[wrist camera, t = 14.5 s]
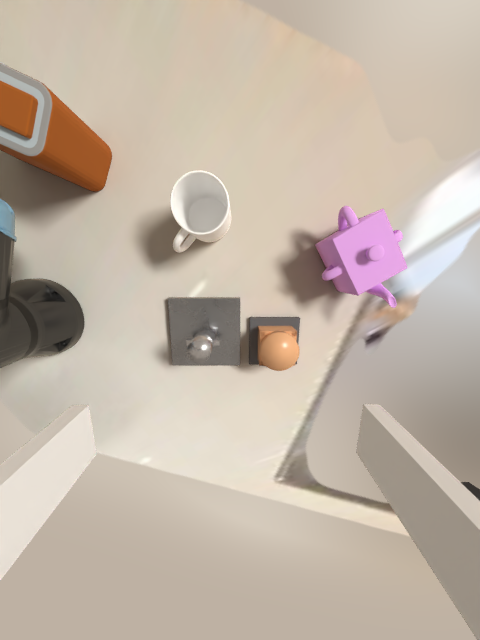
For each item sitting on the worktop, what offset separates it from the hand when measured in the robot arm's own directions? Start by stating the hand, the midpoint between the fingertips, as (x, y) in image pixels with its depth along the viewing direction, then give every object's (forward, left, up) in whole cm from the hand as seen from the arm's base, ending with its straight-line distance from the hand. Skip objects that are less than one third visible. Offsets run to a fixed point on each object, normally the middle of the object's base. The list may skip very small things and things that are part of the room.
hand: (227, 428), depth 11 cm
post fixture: (-6, -6, -35) cm, 36 cm away
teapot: (+21, +9, -35) cm, 42 cm away
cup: (-6, +15, -35) cm, 38 cm away
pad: (+8, -7, -35) cm, 36 cm away
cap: (+8, -7, -34) cm, 36 cm away
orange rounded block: (-29, +27, -35) cm, 53 cm away
